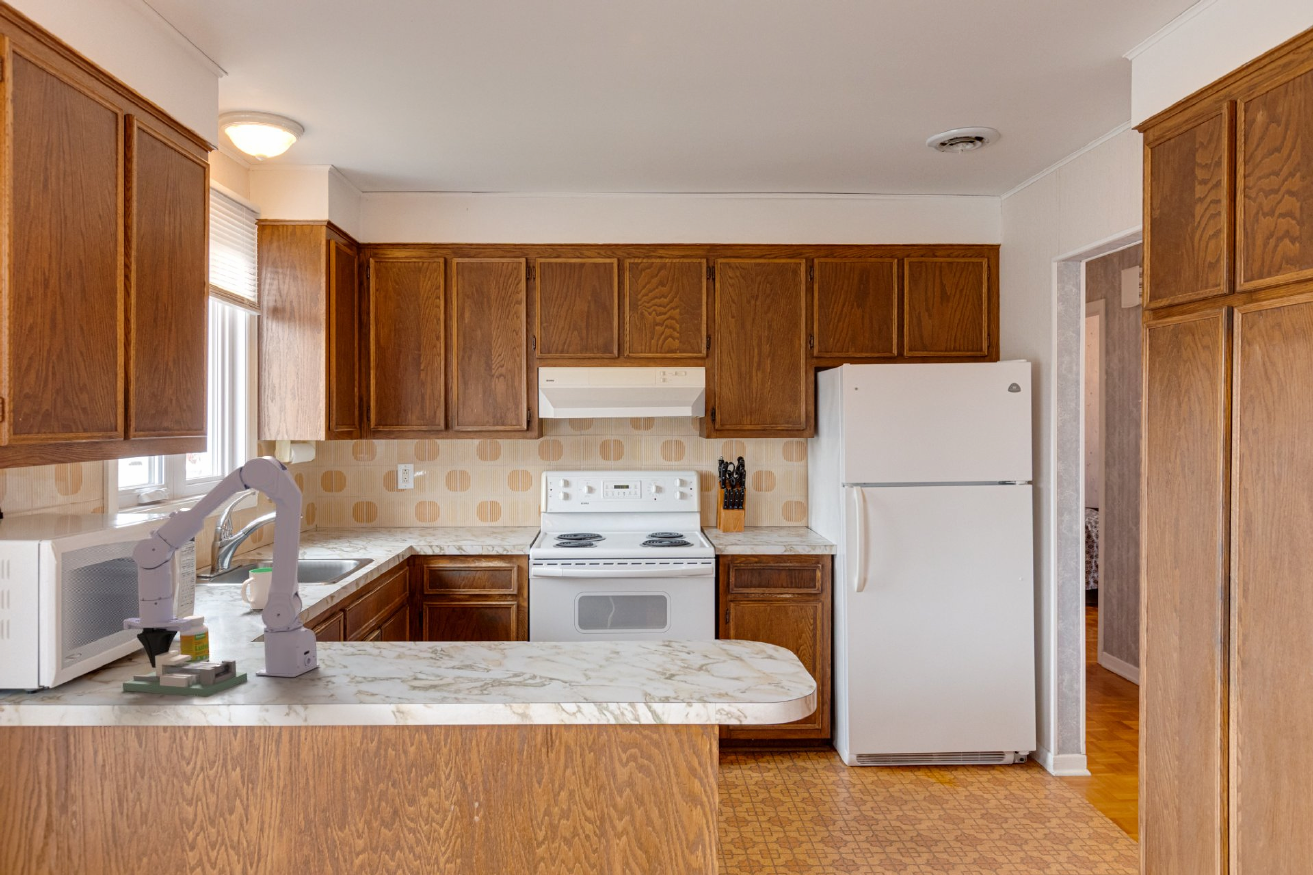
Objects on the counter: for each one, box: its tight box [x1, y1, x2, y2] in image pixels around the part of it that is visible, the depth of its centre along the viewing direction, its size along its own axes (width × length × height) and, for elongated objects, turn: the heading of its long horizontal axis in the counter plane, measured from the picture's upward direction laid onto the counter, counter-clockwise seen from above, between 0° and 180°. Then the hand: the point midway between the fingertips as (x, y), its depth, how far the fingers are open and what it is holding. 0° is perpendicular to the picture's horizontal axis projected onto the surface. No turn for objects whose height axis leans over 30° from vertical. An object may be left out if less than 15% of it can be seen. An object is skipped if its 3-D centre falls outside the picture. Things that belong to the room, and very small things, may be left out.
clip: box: [155, 649, 191, 676], centre depth 162 cm, size 4×4×4 cm
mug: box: [240, 567, 272, 610], centre depth 231 cm, size 12×8×10 cm, turn 163°
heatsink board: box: [122, 659, 248, 698], centre depth 161 cm, size 20×10×4 cm, turn 74°
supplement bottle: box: [179, 614, 210, 664], centre depth 178 cm, size 5×5×10 cm
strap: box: [166, 662, 229, 676], centre depth 160 cm, size 12×4×2 cm, turn 74°
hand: (158, 666), depth 163 cm, fingers closed
